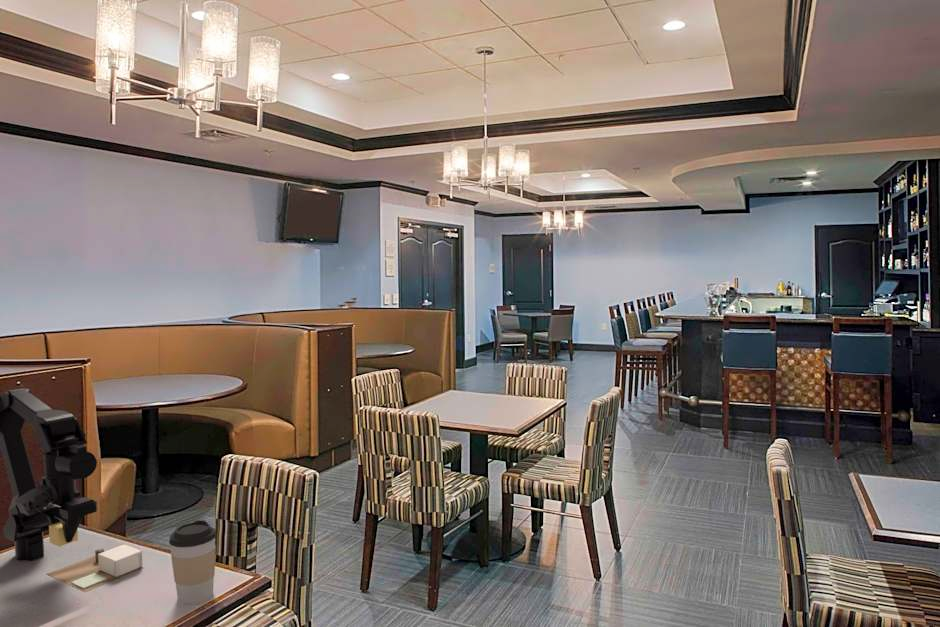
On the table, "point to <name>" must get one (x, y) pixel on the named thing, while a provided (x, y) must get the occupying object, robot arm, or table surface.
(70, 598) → the table surface
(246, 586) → the table surface
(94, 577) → the thin mint green panel
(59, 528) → the block
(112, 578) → the board
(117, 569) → the cover
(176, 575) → the coffee cup
